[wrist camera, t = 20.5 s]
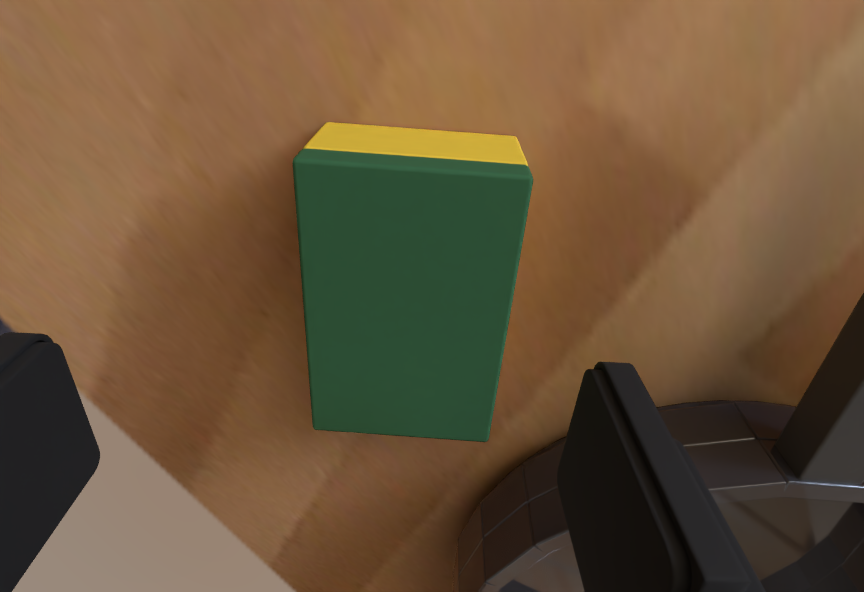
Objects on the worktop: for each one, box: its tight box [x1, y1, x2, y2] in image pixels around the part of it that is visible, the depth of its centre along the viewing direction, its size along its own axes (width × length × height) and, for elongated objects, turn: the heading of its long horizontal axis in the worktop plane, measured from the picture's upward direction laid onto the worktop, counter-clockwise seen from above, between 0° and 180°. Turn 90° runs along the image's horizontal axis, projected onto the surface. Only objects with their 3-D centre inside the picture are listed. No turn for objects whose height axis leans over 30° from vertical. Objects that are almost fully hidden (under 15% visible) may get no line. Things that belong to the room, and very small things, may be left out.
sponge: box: [293, 122, 533, 442], centre depth 13 cm, size 4×7×3 cm, turn 176°
